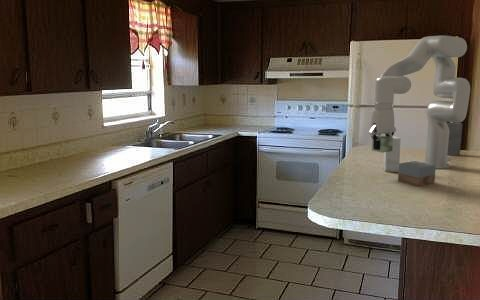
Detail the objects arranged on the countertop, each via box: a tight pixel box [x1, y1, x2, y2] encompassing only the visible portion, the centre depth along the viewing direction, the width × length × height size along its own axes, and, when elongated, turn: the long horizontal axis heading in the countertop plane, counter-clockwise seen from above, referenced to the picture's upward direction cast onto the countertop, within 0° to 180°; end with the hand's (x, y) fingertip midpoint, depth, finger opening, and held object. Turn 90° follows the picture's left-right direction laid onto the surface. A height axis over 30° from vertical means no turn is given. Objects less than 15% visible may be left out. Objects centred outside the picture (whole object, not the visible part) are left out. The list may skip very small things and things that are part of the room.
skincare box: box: [382, 135, 401, 173], centre depth 208 cm, size 8×7×16 cm
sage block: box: [371, 135, 393, 154], centre depth 193 cm, size 6×6×6 cm
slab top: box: [397, 160, 436, 178], centre depth 186 cm, size 10×10×4 cm
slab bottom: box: [397, 173, 436, 187], centre depth 186 cm, size 10×10×4 cm
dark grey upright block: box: [446, 122, 463, 157], centre depth 248 cm, size 15×6×20 cm, turn 64°
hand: (382, 148), depth 194 cm, fingers closed on sage block, 6 cm apart
